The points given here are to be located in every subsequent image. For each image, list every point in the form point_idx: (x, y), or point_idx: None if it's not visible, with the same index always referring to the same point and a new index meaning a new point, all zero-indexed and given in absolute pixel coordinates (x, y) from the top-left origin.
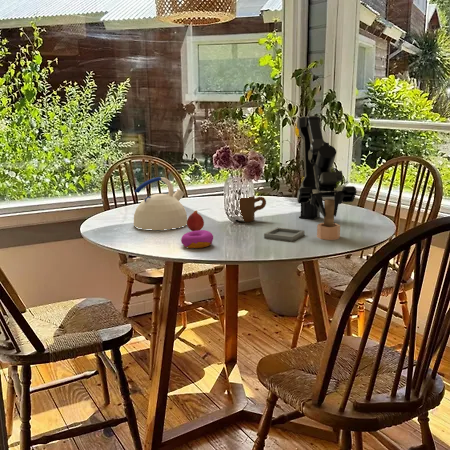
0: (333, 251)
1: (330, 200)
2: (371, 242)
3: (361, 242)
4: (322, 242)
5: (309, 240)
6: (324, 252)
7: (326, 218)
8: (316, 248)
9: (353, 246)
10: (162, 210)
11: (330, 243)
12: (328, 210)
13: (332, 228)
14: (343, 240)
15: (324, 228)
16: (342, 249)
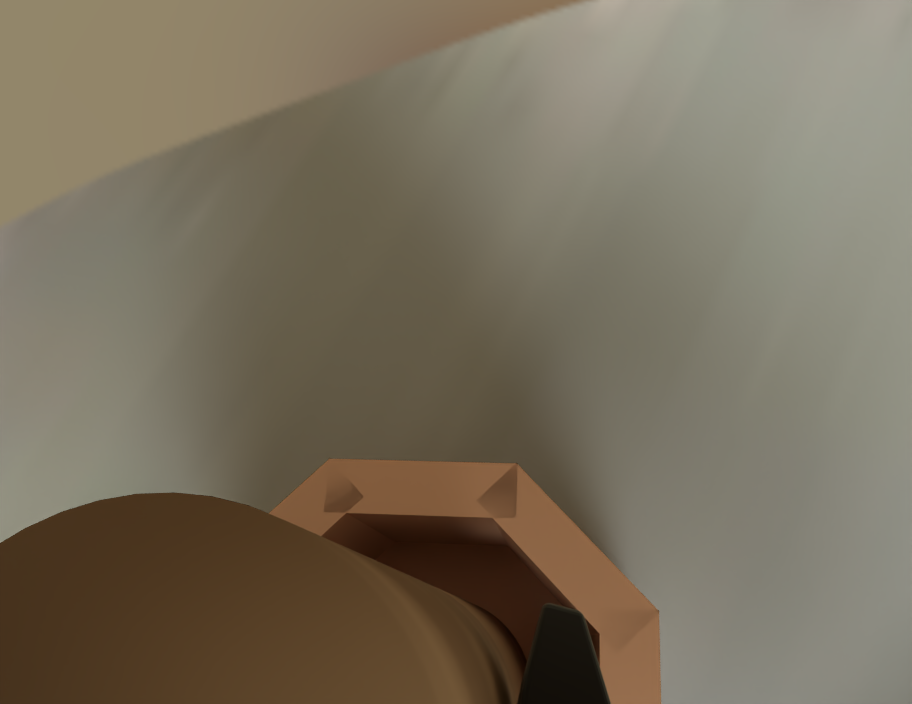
0: (702, 16)
1: (145, 669)
2: (2, 263)
3: (118, 301)
4: (657, 477)
5: (830, 682)
6: (838, 3)
7: (491, 642)
8: (880, 193)
9: (337, 153)
10: None
11: (560, 382)
12: (420, 586)
13: (443, 466)
14: (283, 484)
15: (592, 549)
16: (547, 67)
